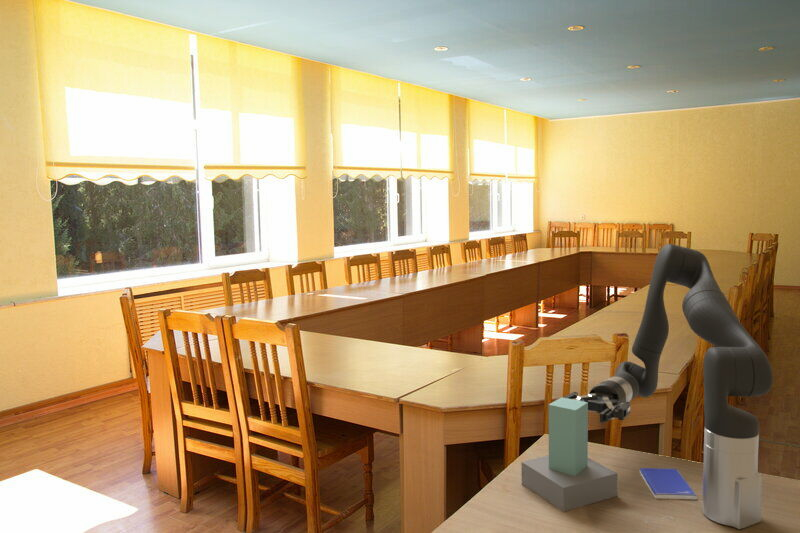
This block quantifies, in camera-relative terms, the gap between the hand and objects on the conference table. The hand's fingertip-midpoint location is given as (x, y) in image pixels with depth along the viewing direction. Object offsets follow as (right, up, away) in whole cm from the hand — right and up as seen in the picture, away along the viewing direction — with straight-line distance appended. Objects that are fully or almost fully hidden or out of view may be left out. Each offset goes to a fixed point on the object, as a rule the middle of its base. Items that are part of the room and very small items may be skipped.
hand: (582, 414), depth 139 cm
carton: (-4, -10, -4) cm, 12 cm away
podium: (-4, -15, -4) cm, 16 cm away
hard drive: (+17, -15, -3) cm, 23 cm away
